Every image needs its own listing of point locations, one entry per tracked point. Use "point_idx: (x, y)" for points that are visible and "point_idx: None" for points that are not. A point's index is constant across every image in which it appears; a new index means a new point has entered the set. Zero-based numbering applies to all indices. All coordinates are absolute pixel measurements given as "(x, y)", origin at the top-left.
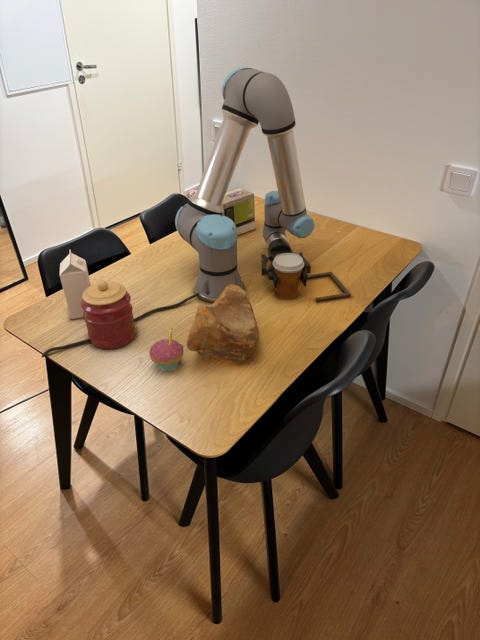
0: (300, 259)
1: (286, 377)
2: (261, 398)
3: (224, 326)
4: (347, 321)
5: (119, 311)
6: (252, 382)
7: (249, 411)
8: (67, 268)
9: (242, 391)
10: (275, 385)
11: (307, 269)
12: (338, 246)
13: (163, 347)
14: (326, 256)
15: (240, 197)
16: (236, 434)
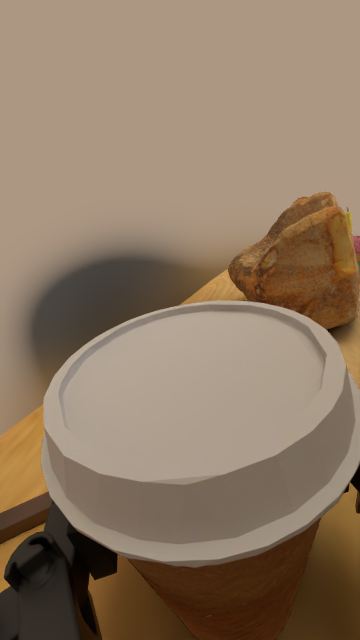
0: (70, 394)
1: (187, 302)
2: (211, 286)
3: (273, 225)
4: (39, 409)
5: None
6: (227, 291)
7: (219, 280)
8: None
9: (234, 285)
10: (199, 295)
11: (13, 594)
12: None
13: (353, 236)
14: None
15: None
16: (224, 272)
